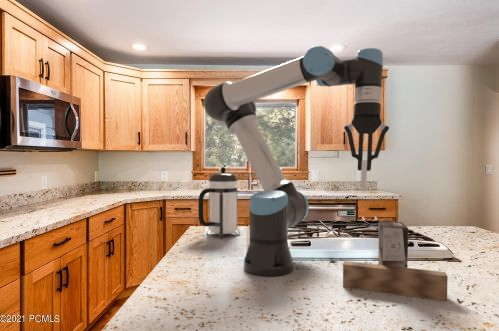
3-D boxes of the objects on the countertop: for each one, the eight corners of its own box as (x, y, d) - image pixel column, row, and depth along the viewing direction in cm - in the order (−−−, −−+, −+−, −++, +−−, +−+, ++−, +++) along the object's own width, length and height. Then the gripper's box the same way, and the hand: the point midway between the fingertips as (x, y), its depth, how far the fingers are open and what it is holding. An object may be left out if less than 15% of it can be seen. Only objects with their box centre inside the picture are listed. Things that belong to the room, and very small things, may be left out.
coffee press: (208, 230, 157) (208, 166, 156) (242, 231, 155) (242, 166, 154) (198, 239, 140) (197, 167, 139) (235, 240, 137) (235, 167, 137)
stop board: (342, 286, 88) (343, 264, 88) (344, 282, 91) (344, 260, 91) (447, 301, 80) (447, 276, 79) (444, 296, 82) (445, 272, 82)
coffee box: (408, 290, 86) (409, 228, 86) (381, 288, 88) (382, 226, 87) (401, 278, 95) (402, 221, 94) (377, 276, 96) (378, 220, 96)
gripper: (343, 101, 99) (340, 181, 100) (391, 100, 94) (387, 184, 95) (345, 105, 106) (342, 179, 107) (390, 104, 101) (386, 182, 102)
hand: (363, 181), depth 101 cm, fingers closed
